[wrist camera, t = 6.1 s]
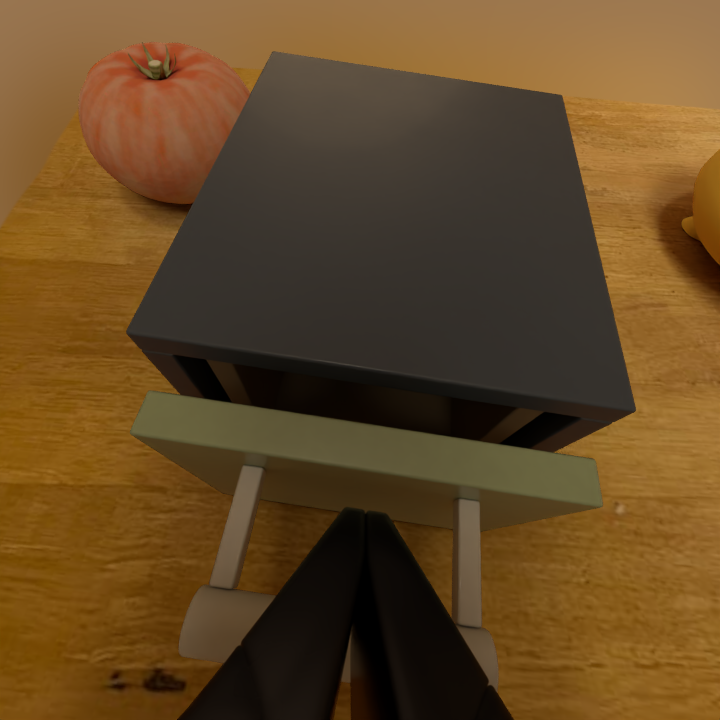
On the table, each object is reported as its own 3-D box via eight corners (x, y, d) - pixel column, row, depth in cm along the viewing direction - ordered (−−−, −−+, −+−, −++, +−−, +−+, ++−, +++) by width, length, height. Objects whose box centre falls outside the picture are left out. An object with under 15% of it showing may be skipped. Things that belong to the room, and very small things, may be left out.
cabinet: (481, 488, 19) (638, 411, 9) (228, 449, 19) (123, 332, 9) (477, 266, 26) (562, 94, 16) (293, 238, 26) (272, 50, 16)
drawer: (478, 652, 15) (647, 754, 7) (187, 607, 15) (26, 657, 7) (473, 295, 23) (546, 160, 15) (289, 266, 23) (269, 118, 16)
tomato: (134, 134, 30) (75, 3, 23) (272, 138, 31) (255, 14, 24) (99, 231, 25) (9, 101, 18) (266, 232, 26) (242, 109, 19)
